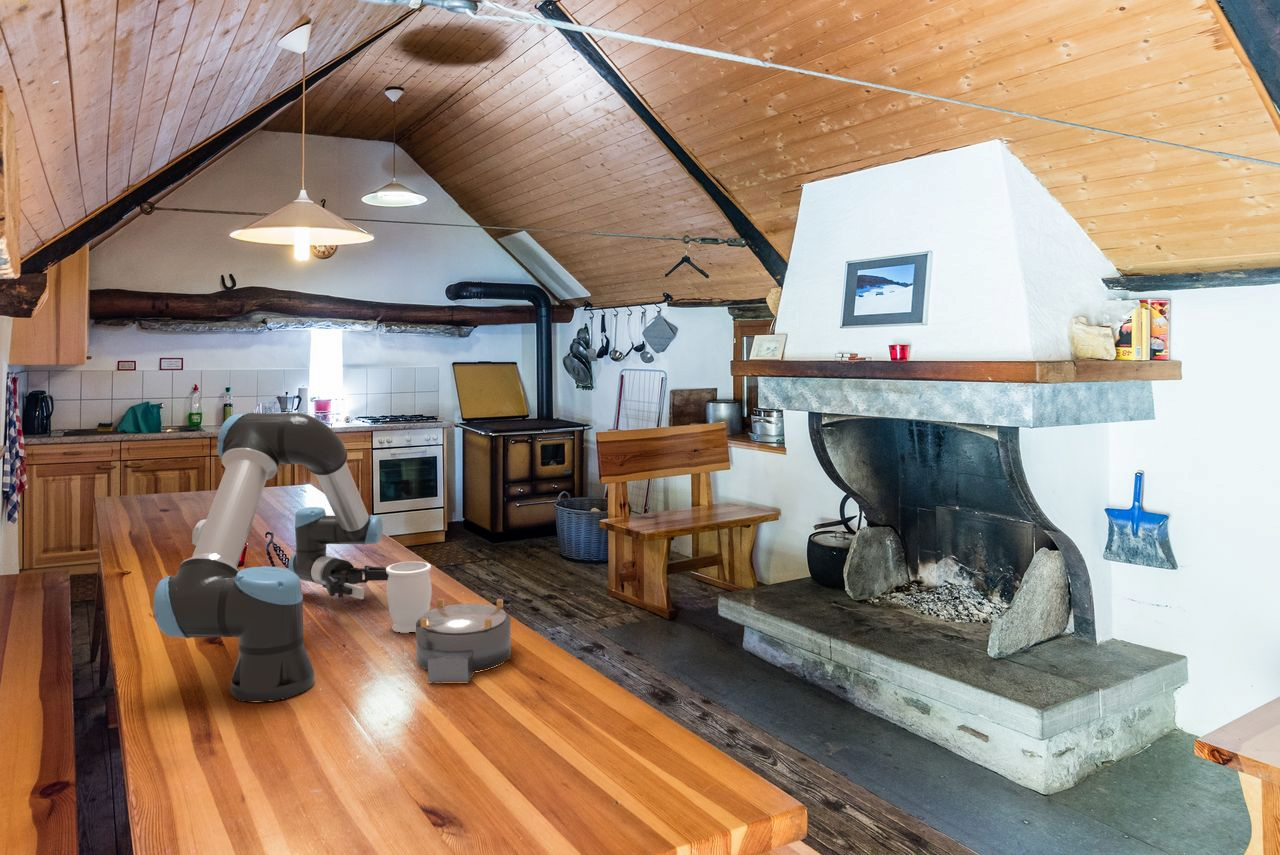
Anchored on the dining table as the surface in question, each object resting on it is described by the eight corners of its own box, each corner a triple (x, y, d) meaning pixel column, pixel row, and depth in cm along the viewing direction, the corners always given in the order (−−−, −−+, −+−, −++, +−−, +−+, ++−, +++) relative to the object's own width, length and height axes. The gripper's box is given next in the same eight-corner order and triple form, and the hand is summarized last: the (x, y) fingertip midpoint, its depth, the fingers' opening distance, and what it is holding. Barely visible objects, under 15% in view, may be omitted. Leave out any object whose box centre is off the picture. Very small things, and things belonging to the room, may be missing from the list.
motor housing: (498, 683, 168) (497, 632, 166) (398, 683, 168) (396, 631, 167) (517, 640, 192) (517, 595, 191) (430, 639, 192) (429, 594, 191)
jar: (384, 624, 203) (382, 563, 201) (427, 618, 207) (426, 559, 206) (391, 638, 193) (389, 574, 192) (436, 631, 198) (435, 569, 196)
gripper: (374, 576, 228) (426, 589, 215) (289, 598, 207) (342, 615, 195) (373, 549, 227) (425, 561, 215) (288, 569, 207) (340, 583, 194)
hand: (386, 586), depth 205 cm, fingers open, 13 cm apart
